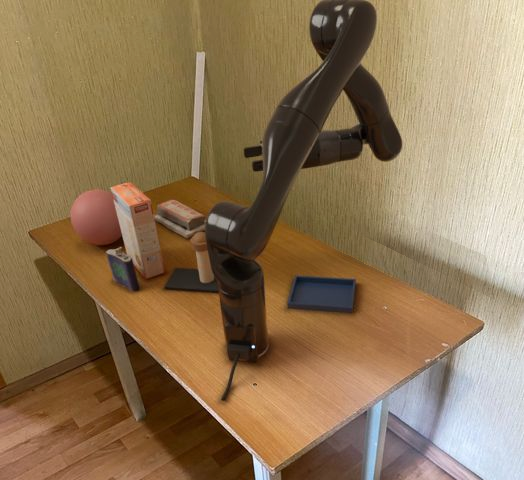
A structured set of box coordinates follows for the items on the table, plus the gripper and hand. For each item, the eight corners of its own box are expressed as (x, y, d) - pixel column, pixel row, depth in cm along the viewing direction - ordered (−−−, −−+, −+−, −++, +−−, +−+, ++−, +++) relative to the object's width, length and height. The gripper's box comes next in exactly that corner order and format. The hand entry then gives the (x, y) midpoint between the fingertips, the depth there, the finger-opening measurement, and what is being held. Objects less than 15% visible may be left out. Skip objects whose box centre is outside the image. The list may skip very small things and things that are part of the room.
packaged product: (150, 205, 161) (177, 195, 166) (153, 220, 164) (179, 209, 169) (184, 224, 150) (212, 212, 155) (187, 240, 153) (214, 227, 158)
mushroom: (221, 278, 136) (215, 232, 127) (205, 287, 133) (198, 240, 124) (208, 271, 139) (202, 225, 130) (192, 279, 136) (185, 233, 127)
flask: (112, 281, 139) (101, 245, 132) (120, 276, 141) (111, 240, 134) (134, 293, 134) (125, 256, 127) (143, 287, 136) (134, 251, 129)
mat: (241, 294, 131) (240, 292, 131) (164, 289, 135) (164, 286, 134) (248, 274, 138) (248, 272, 137) (176, 270, 141) (175, 267, 141)
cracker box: (166, 273, 141) (151, 199, 127) (145, 280, 138) (127, 206, 125) (147, 251, 150) (131, 180, 136) (127, 257, 148) (108, 186, 134)
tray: (352, 314, 123) (352, 307, 122) (287, 309, 126) (287, 303, 124) (355, 285, 132) (356, 279, 130) (295, 281, 134) (295, 275, 133)
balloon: (155, 234, 157) (145, 184, 147) (96, 261, 147) (81, 210, 137) (127, 218, 166) (115, 170, 156) (69, 243, 156) (53, 193, 146)
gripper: (307, 122, 124) (239, 132, 122) (327, 143, 114) (254, 154, 111) (307, 154, 129) (242, 164, 127) (326, 176, 119) (256, 188, 116)
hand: (248, 159), depth 119 cm, fingers open, 8 cm apart
